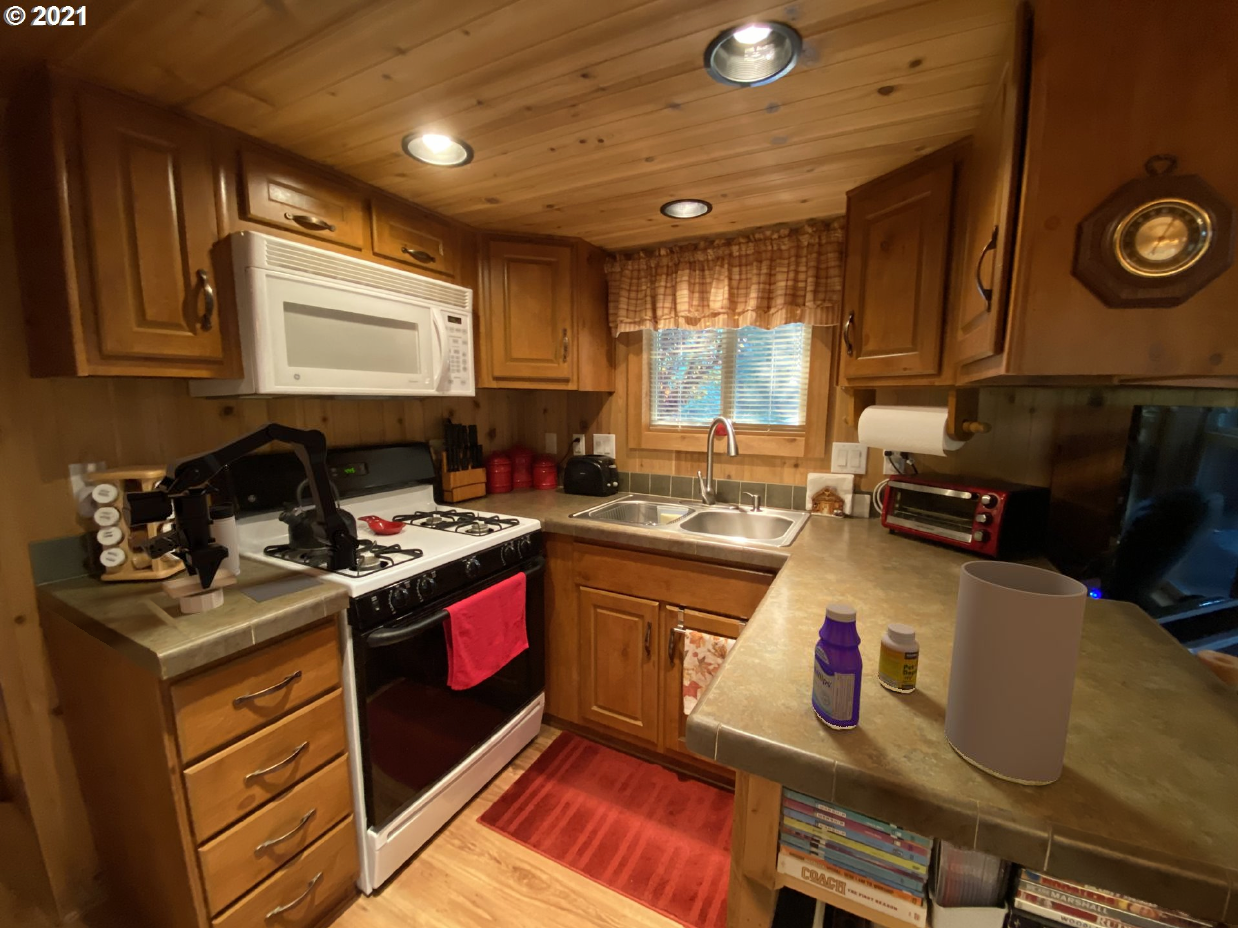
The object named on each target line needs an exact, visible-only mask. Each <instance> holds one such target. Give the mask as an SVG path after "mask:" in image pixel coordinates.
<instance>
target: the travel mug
mask: <svg viewBox="0 0 1238 928" xmlns="http://www.w3.org/2000/svg"><path fill="white" fill-rule="evenodd" d="M208 506H209V514H210V519H212V520H213V522H214V524H212V525H211V532H212V537H214V538H215V540H216V542H214V543H218V544H220V545H222V546H224V547H226V548H228V553H229V557H227V558H225V559H224V560H222V562H221V564H220V566H219V568H218V569H223V568H225V569H227V570H229V571H231V572H232V573H234V574H236V577H238V576H240V574H241V567H240V566H241V564H240V554H239V545H238V544H239V543H238V537H237V536H238V535H237V527H236V525H237V523H236V518H235V513H234V512H235V511H234V510H235V509H234V504H233V502H232V501H225V502H223V503H216V504H211V505H208ZM209 544H213V543H209Z"/></svg>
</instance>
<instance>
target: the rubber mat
mask: <svg viewBox="0 0 1238 928" xmlns="http://www.w3.org/2000/svg"><path fill="white" fill-rule="evenodd" d="M321 585H325V583H324V582H322V581H320V580H318V579H316V578H313V577H311V576H309V575H306V574H304V573H299V574H295V575H292V576H288V577H286V578H281V579H278V580H274V581H273V580H272V581H270V582H266V583H263V584H259V585H256V586H255V585H254V586H252V587H248V588H243V589H240V590H239V592H240V593H242V594H244V595H245V596H247V597H249V598H251V599H252V600H254V601H256V602H257V603H259V604H260V603H263V602H267V601H269V600H273V599H277V598H281V597H283V596H287V595H290V594H294V593H297V592H300V591H304V590H307V589H311V588H314V587H318V586H321Z"/></svg>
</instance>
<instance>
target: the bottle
mask: <svg viewBox="0 0 1238 928" xmlns="http://www.w3.org/2000/svg"><path fill="white" fill-rule="evenodd" d="M818 636H819V639H818V641H817V642H816V643H815V647H814V657H813V658H814V660H813V673H812V674H813V677H812V691H811V696H812V697H811V704H812V708H813V707H814V709H815V710H816V712H817V713H818V714H819V716H821V718H823V719H824V720H825V721H826V722H828V723H830V724H832V725H836V726H839V727H840V726H841V727H846V726H847V727H848V726H854V725H857V726H858V724H859V722H860V711H861V693H862V680H863V679H862V677H863V667H864V666H863V664H864V663H863V659H862V658H863V657H862V654H861V651H860V647H859V646H860V645H861V642H862V640H861V637H860V635H859V633H858V630H857V609H856V608H854V607H853V606H850V605H848V604H845V603H840V602H831V603H830V602H829V603H828V604H827V605H826V606H825V617H824V622H823V624H822V626H821V628H820V629H819V630H818ZM814 709H813V710H814Z"/></svg>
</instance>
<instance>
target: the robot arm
mask: <svg viewBox="0 0 1238 928" xmlns="http://www.w3.org/2000/svg"><path fill="white" fill-rule="evenodd" d="M274 441H278V442H282V443H286V444H289V445H291V448H292V449H293V451H294V454H295V455H296V456H297V457H298V458H299V460H300V461H301V463H302V464H303V467H304V470H305V473H306V477H307V481H308V484H309V488H310V489H309V490H310V491H311V496H312V499H313V502H314V507H315V510H316V514H317V516H316V521H314V522H311V523H310V526H311V529H312V530H313V535H312V536H313V538H316V539H317V540H318V542H320V543H322V544H323V546H324V547H325V548H327V555H326V556H325V561H326V563H325V564H326V570H328V572H329V571H330V572H336V571H344V570H348V569H351V568H353V567H355V566H357V565H358V556H357V550H359V547H360V543H361V540H359V539H358V538H356V537H355V536H353V535H352V534H351V532H350V529H349V526H348V525H347V523H346V521H345V520H344V519H343V517H342V515H341V514H340V513H339V511H338V507H337V505H336V504H337V503H336V500H335V497H334V493H333V489H332V485H331V484H332V483H331V480H330V477H329V474H328V469H327V465H326V457H327V452H328V446H327V443H328V442H327V437H326V435H325V433H324V432H323V431H320V430H319V429H315V428H295V427H290V426H286V425H282V424H280V423H278V422H264V423H262V424H260V426H258V427H256V428H254V429H251V430H249V431H247V432H246V433H243V434H241V435H239V436H237V437H235V438H233V439H231V440H228V441H227V442H224V443H223V444H220V445H218V446H216V447H213V448H212V449H209V450H207V451H202V452H197V453H193V454H190V455H186V456H183V457H180V458H176V459H174V460H172V461H171V462H169V463H167V465H166V469H165V475H164V477H163V478H161V480H160V481H159V483H158V484H157V486H156V487H155V488H154V489H153V490H146V491H145V490H143V491H130V492H129V491H128V492H124V493H123V500H122V507H121V513H122V514H121V515H122V518H123V521H124V524H125V525H126V526H127V527H136V526H140V525H148V524H154V523H159V522H160V523H161V522H166V521H167V519H168V518H170V517H171V516H172V515H173V514H174V521H172V523H171V524H170V528H171V529H169V530H167V531H164V532H162V533H158V534H157V535H155V536H152V537H150V538H148V539H145V540H144V541H142V542H140V543H139V546H140V547H141V549H142V550H143V551H144V553H145V554H146V555H147V557H148V558H150V559H151V560H157V559H159V558H161V557H163V555H165V554H167V553H169V554H170V555H172V556H174V557H176V558H178V559H180V560H181V562H182V564H183V566H184V569H185V570H186V572H187V574H188V576H193V575H197V574H198V577H199V580H200V583H201V585H202V588H203V589H207V588H210V586H211V583H212V581H213V579H214V577H215V575H216V572H217V570H218V568H219V566H220V564H221V562H222V560H224V559H225V558H227V557H229V553H228V548H226V547H224V546H222V545H220V544H218V543H214V542H216V540H215V538H214V537H212V532H211V525H212V524H214V522H213V520H212V519H210V514H209V506H210V505H209V498H208V495H215V494H219V492H220V490H219V489H218V488H215V487H213V486H212V485H211V484H210V483H208V482H207V481H209V480H210V479H212V478H213V477H215V475H217V474H218V473H219V472H220V471H221V469H223V468H224V467H225V466H227V465H228V464H230V463H232V462H234V461H236V460H238V459H240V458H241V457H244V456H246V455H247V454H250V453H253V452H254V451H255V450H257V449H260V448H261V447H263V446H265V445H268V444H269V443H272V442H274ZM209 543H213V544H209Z"/></svg>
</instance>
